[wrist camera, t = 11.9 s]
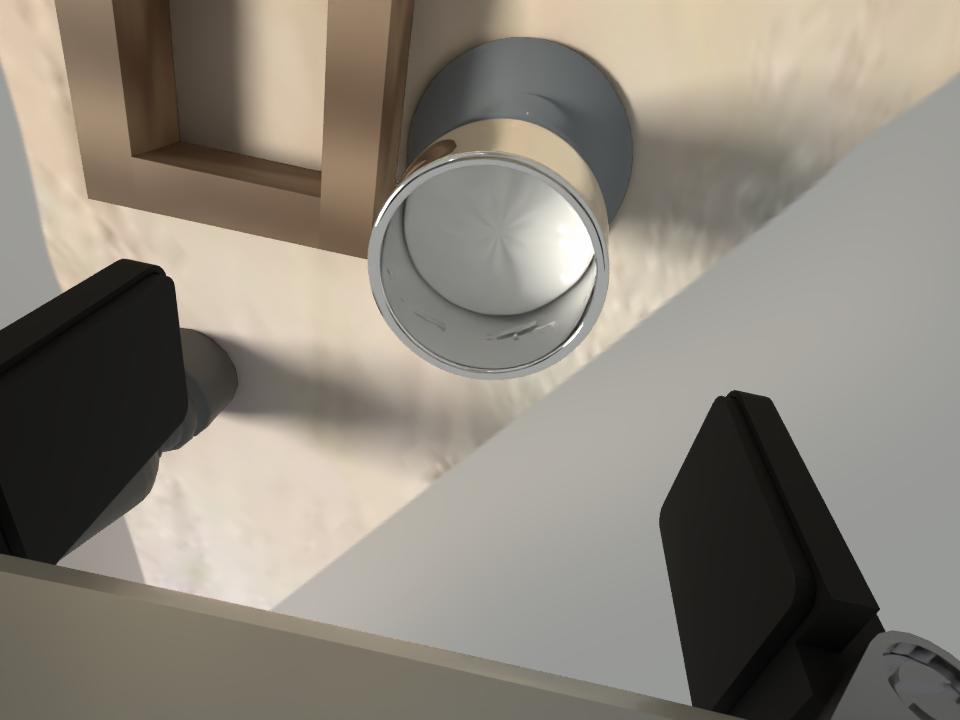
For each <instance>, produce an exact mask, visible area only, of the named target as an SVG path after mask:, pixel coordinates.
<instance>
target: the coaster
mask: <svg viewBox="0 0 960 720" xmlns="http://www.w3.org/2000/svg"><path fill="white" fill-rule="evenodd" d="M512 94H531V95H536V96H540V97H543V98H545V99H547V100H549V101H551V102H553V103H554V104H556V105H557V106H559V107H560V108H561V109H562V110H563V111H564V112H565V113H566V114H567V115H568V116H569V117H570V119H571V120H572V121H573V123H574V125H575V126H576V128H577V131H578V133H579V135H580V138H581V142H582V147H583V152H584V154H585V155H586V156H587V158H588V159H589V161H590V163H591V164H592V166H593V168H594V170H595V173H596V175H597V178H598V180H599V183H600V186H601V188H602V191H603V195H604V198H605V203H606V209H607V217H608V225H609V224H610V222H611V221H612V219H613V218H614V217H615V215H616V213H617V211H618V209H619V207H620V206H621V204H622V201H623V199H624V196H625V193H626V191H627V188H628V184H629V179H630V175H631V168H632V159H633V158H632V138H631V131H630V126H629V123H628V119H627V116H626V112H625V110H624V108H623V105H622V103H621V101H620V99H619V97H618V95H617V93H616V92H615V90H614V89H613V87H612V85H611V84H610V82H609V81H608V80H607V79H606V78H605V76H604V75H603V74H602V73H601V72H600V70H599V69H597V68H596V67H595V66H594V65H593V64H592V63H591V62H590V61H588V60H587V59H586V58H584V57H583V56H581V55H580V54H578V53H577V52H575V51H574V50H571V49H569V48H567V47H565V46H563V45H561V44H558V43H555V42H551V41H548V40H544V39H538V38H530V37H511V38H505V39H499V40H495V41H491V42H488V43H485V44H482V45H479V46H477V47H475V48H473V49H471V50H469V51H467V52H465V53H464V54H462V55H461V56H459V57H458V58H456V59H455V60H453V61H452V62H451V63H450V64H449V65H448V66H446V67H445V68H444V69H443V70H442V71H441V72H440V73H439V74H438V75H437V77H436V78H435V79H434V80H433V81H432V83H431V84H430V85H429V87H428V88H427V90H426V92H425V93H424V95H423V96H422V98H421V100H420V102H419V105H418V107H417V109H416V111H415V114H414V117H413V120H412V124H411V127H410V133H409V138H408V150H407V161H408V167H409V166H410V165H411V164H412V162H413V161H414V160H415V159H416V158H417V157H418V155H419V154H420V153H421V152H422V151H423V150H424V149H425V148H426V147H427V146H428V145H429V144H430V143H431V142H432V141H433V140H435V139H436V138H437V137H439V136H440V135H441V134H443V133H444V132H445V131H447V130H448V129H450V128H451V127H453V126H455V125H456V124H458V123H460V122H462V121H465V120H467V119H469V118H472V117H474V115H475V114H476V113H477V112H478V111H479V110H480V109H481V108H482V107H484V106H485V105H487V104H488V103H490V102H491V101H493V100H495V99H498V98H500V97H503V96H507V95H512Z"/></svg>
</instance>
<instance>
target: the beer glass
mask: <svg viewBox="0 0 960 720" xmlns="http://www.w3.org/2000/svg"><path fill="white" fill-rule="evenodd" d="M608 255H609V225H608V217H607V209H606V203H605V198H604V195H603V191H602V188H601V186H600V183H599V180H598V178H597V175H596V173H595V170H594V168H593V166H592V164H591V163H590V161H589V159H588V158H587V156H586V155H585V154H584V152H583V147H582V142H581V138H580V135H579V133H578V131H577V128H576V126H575V125H574V123H573V121H572V120H571V119H570V117H569V116H568V115H567V114H566V113H565V112H564V111H563V110H562V109H561V108H560V107H559V106H557V105H556V104H554V103H553V102H551V101H549V100H547V99H545V98H543V97H540V96H536V95H531V94H512V95H507V96H503V97H500V98H498V99H495V100H493V101H491V102H490V103H488V104H487V105H485V106H484V107H482V108H481V109H480V110H479V111H478V112H477V113H476V114H475V115H474V117H472V118H469V119H467V120H465V121H462V122H460V123H458V124H456V125H455V126H453V127H451V128H450V129H448V130H447V131H445V132H444V133H443V134H441V135H440V136H439V137H437V138H436V139H435V140H433V141H432V142H431V143H430V144H429V145H428V146H427V147H426V148H425V149H424V150H423V151H422V152H421V153H420V154H419V155H418V157H417V158H416V159H415V160H414V161H413V162H412V164H411V165H410V166H409V167H408V169H407V170H406V172H405V173H404V175H403V176H402V178H401V180H400V181H399V183H398V184H397V186H396V187H395V189H394V191H393V192H392V193H391V195H390V196H389V197H388V199H387V200H386V201H385V203H384V205H383V206H382V208H381V210H380V212H379V214H378V216H377V218H376V220H375V223H374V226H373V229H372V232H371V236H370V241H369V248H368V274H369V281H370V285H371V290H372V293H373V296H374V299H375V302H376V304H377V306H378V309H379V311H380V313H381V314H382V316H383V318H384V320H385V321H386V323H387V324H388V326H389V327H390V329H391V330H392V331H393V332H394V334H395V335H396V336H397V337H398V338H399V339H400V340H401V341H402V343H403V344H405V345H406V346H407V347H408V348H409V349H410V350H411V351H413V352H414V353H415V354H416V355H418V356H419V357H421V358H422V359H424V360H425V361H427V362H429V363H430V364H432V365H434V366H436V367H438V368H440V369H443V370H445V371H448V372H450V373H453V374H456V375H460V376H464V377H468V378H474V379H483V380H504V379H513V378H518V377H523V376H527V375H530V374H533V373H536V372H539V371H541V370H543V369H546V368H548V367H550V366H552V365H553V364H555V363H557V362H558V361H560V360H561V359H563V358H564V357H566V356H567V355H568V354H569V353H571V352H572V351H573V350H574V349H575V348H576V347H577V346H578V345H579V344H580V343H581V342H582V341H583V340H584V339H585V337H586V336H587V335H588V334H589V332H590V331H591V329H592V328H593V326H594V324H595V323H596V321H597V319H598V317H599V315H600V313H601V310H602V308H603V305H604V302H605V298H606V295H607V290H608V284H609V256H608Z"/></svg>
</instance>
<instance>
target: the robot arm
mask: <svg viewBox="0 0 960 720" xmlns="http://www.w3.org/2000/svg"><path fill="white" fill-rule="evenodd" d="M187 411H188V395H187V386H186V378H185V369H184V361H183V352H182V344H181V335H180V326H179V318H178V309H177V301H176V292H175V286H174V282H173V280H172V279H171V278H170V277H168V276H166V274H165V272H164V270H163V269H162V268H161V267H160V266H157V265H152V264H148V263H143V262H138V261H134V260H129V259H121V260H118V261H116V262H114V263H113V264H111V265H109V266H108V267H106V268H104V269H103V270H101V271H99V272H98V273H96V274H94V275H93V276H91V277H89V278H88V279H86V280H84V281H82V282H81V283H79V284H77V285H76V286H74V287H72V288H71V289H69V290H67V291H66V292H64V293H62V294H61V295H59V296H57V297H56V298H54V299H52V300H51V301H49V302H47V303H46V304H44V305H42V306H40V307H39V308H37V309H36V310H34V311H32V312H30V313H29V314H27V315H25V316H24V317H22V318H20V319H19V320H17V321H15V322H14V323H12V324H10V325H9V326H7V327H5V328H3V329H2V330H0V720H960V661H959V660H958V659H956V658H955V657H954V656H953V655H951V654H950V653H949V652H947V651H945V650H944V649H942V648H940V647H939V646H937V645H935V644H934V643H932V642H930V641H928V640H925V639H923V638H921V637H918V636H916V635H913V634H911V633H906V632H899V631H888V632H885V630H884V628H883V626H882V624H881V622H880V620H879V618H878V616H877V614H876V613H877V612H878V611H879V610H880V608H879V606H878V604H877V602H876V600H875V598H874V597H873V595H872V593H871V591H870V589H869V587H868V585H867V583H866V581H865V579H864V577H863V575H862V573H861V571H860V570H859V568H858V566H857V564H856V562H855V560H854V558H853V556H852V554H851V552H850V550H849V548H848V546H847V545H846V543H845V541H844V539H843V537H842V535H841V533H840V531H839V529H838V527H837V525H836V523H835V521H834V520H833V517H832V516H831V514H830V512H829V510H828V508H827V506H826V504H825V502H824V500H823V498H822V496H821V494H820V492H819V491H818V488H817V487H816V485H815V483H814V481H813V479H812V477H811V475H810V473H809V471H808V469H807V467H806V465H805V463H804V462H803V460H802V458H801V456H800V454H799V452H798V450H797V448H796V446H795V444H794V442H793V440H792V439H791V436H790V435H789V433H788V431H787V429H786V427H785V425H784V423H783V421H782V419H781V417H780V415H779V413H778V412H777V410H776V408H775V406H774V404H773V402H772V400H771V399H770V398H768V397H765V396H759V395H755V394H751V393H746V392H741V391H736V390H734V391H731V392H730V393H729V394H728V395H727V396H726V397H724V396H719V397H717V398H716V399H715V401H714V403H713V404H712V407H711V408H710V411H709V412H708V415H707V416H706V418H705V420H704V423H703V425H702V427H701V429H700V431H699V433H698V435H697V437H696V439H695V441H694V443H693V445H692V447H691V449H690V451H689V453H688V455H687V457H686V459H685V461H684V463H683V465H682V467H681V469H680V471H679V473H678V475H677V477H676V479H675V481H674V483H673V485H672V487H671V489H670V491H669V493H668V496H667V497H666V499H665V501H664V504H663V506H662V508H661V512H660V518H659V526H660V532H661V538H662V543H663V548H664V554H665V560H666V565H667V570H668V576H669V581H670V587H671V592H672V597H673V603H674V608H675V614H676V619H677V624H678V630H679V636H680V641H681V647H682V652H683V657H684V663H685V669H686V674H687V679H688V684H689V690H690V696H691V701H692V706H688V705H684V704H680V703H676V702H672V701H668V700H664V699H659V698H655V697H651V696H647V695H643V694H639V693H635V692H631V691H626V690H622V689H617V688H613V687H609V686H604V685H599V684H595V683H591V682H586V681H582V680H577V679H573V678H568V677H563V676H559V675H555V674H551V673H546V672H542V671H537V670H533V669H528V668H524V667H520V666H515V665H511V664H506V663H501V662H497V661H493V660H488V659H484V658H479V657H475V656H471V655H466V654H462V653H457V652H453V651H448V650H444V649H439V648H435V647H430V646H426V645H421V644H417V643H412V642H407V641H403V640H399V639H394V638H389V637H385V636H380V635H376V634H371V633H366V632H362V631H357V630H353V629H349V628H344V627H339V626H334V625H330V624H326V623H321V622H317V621H312V620H307V619H302V618H298V617H294V616H289V615H285V614H280V613H275V612H271V611H266V610H262V609H257V608H253V607H248V606H243V605H239V604H234V603H230V602H225V601H220V600H216V599H211V598H207V597H202V596H197V595H193V594H188V593H183V592H179V591H174V590H169V589H165V588H160V587H155V586H150V585H146V584H141V583H136V582H132V581H127V580H122V579H117V578H113V577H108V576H103V575H99V574H94V573H90V572H85V571H80V570H75V569H71V568H66V567H61V566H57V565H56V564H57V562H58V561H59V560H60V559H61V558H62V557H63V556H64V555H65V554H66V552H67V551H68V550H69V549H70V548H71V547H72V546H73V545H74V543H75V542H76V541H77V540H78V539H79V538H80V537H81V536H82V535H83V533H84V532H85V531H86V530H87V529H88V528H89V527H90V526H91V524H92V523H93V522H94V521H95V520H96V519H97V518H98V517H99V515H100V514H101V513H102V512H103V511H104V510H105V509H106V508H107V506H108V505H109V504H110V503H111V502H112V501H113V500H114V499H115V497H116V496H117V495H118V494H119V493H120V492H121V491H122V490H123V489H124V487H125V486H126V485H127V484H128V483H129V482H130V481H131V480H132V478H133V477H134V476H135V475H136V474H137V473H138V472H139V471H140V469H141V468H142V467H143V466H144V465H145V464H146V463H147V462H148V460H149V459H150V458H151V457H152V456H153V455H154V454H155V453H156V451H157V450H158V449H159V448H160V447H161V446H162V445H163V444H164V442H165V441H166V440H167V439H168V438H169V437H170V436H171V435H172V434H173V432H174V431H175V430H176V429H177V428H178V427H179V426H180V425H181V423H182V422H183V421H184V419H185V417H186V414H187Z"/></svg>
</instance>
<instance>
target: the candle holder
mask: <svg viewBox="0 0 960 720" xmlns="http://www.w3.org/2000/svg"><path fill="white" fill-rule="evenodd" d="M180 335H181V344H182V352H183V361H184V369H185V378H186V386H187V395H188V411H187V414H186V417H185V419H184V421H183V422H182V423H181V425H180V426H179V427H178V428H177V429H176V430H175V431H174V432H173V434H172V435H171V436H170V437H169V438H168V439H167V440H166V441H165V442H164V444H163V445H162V446H161V447H160V448H159V449H158V450H157V451H156V453H155V454H154V455H153V456H152V457H151V458H150V459H149V460H148V462H147V463H146V464H145V465H144V466H143V467H142V468H141V469H140V471H139V472H138V473H137V474H136V475H135V476H134V477H133V478H132V480H131V481H130V482H129V483H128V484H127V485H126V486H125V487H124V489H123V490H122V491H121V492H120V493H119V494H118V495H117V496H116V497H115V499H114V500H113V501H112V502H111V503H110V504H109V505H108V506H107V508H106V509H105V510H104V511H103V512H102V513H101V514H100V515H99V517H98V518H97V519H96V520H95V521H94V522H93V523H92V524H91V526H90V527H89V528H88V529H87V530H86V531H85V532H84V533H83V535H82V536H81V537H80V538H79V539H78V540H77V541H76V542H75V543H74V545H73V546H72V547H71V548H70V549H69V550H68V551H67V552H66V554H65V555H64V556H63V557H65V556H66V555H68V554H69V553H70V552H72V551H73V550H75V549H76V548H77V547H79V546H80V545H81V544H83V543H84V542H86V541H87V540H89V539H90V538H91V537H93V536H94V535H96V534H97V533H98V532H100V531H101V530H103V529H104V528H105V527H107V526H108V525H110V524H111V523H113V522H114V521H115V520H117V519H118V518H120V517H121V516H123V515H124V514H125V513H127V512H128V511H130V510H131V509H132V508H134V507H135V506H136V505H138V504H139V503H140V502H141V501H143V500H144V499H145V497H146V496H147V495H148V494H149V493H150V491H151V489H152V487H153V485H154V482H155V479H156V475H157V472H158V467H159V458H160V457H161V455H162V452H166V451H171V450H176V449H179V448H181V447H182V446H183V445H185V444H186V443H187V442H188V441H190V440H191V439H192V438H193V436H197V435H198V434H199V433H200V432H202V431H203V430H204V429H205V428H207V427H208V426H209V425H210V423H211V422H212V421H213V420H214V419H215V418H216V417H217V415H218V414H219V413H220V412H221V411H222V410H223V408H224V407H225V406H226V405H227V404H228V403H229V402H230V400H231V399H232V398H233V397H234V394H235V391H236V388H237V385H238V381H237V375H236V368H235V366H234V365H233V363H232V361H231V360H230V358H229V356H228V354H227V353H226V352H225V351H224V350H223V349H222V348H221V347H220V346H219V345H218V344H217V343H215V342H214V341H213V340H212V339H211V338H209V337H207V336H205V335H203V334H200V333H198V332H196V331H194V330H190V329H183V328H180ZM63 557H62V558H63ZM62 558H61V559H62ZM61 559H60V560H61Z"/></svg>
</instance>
